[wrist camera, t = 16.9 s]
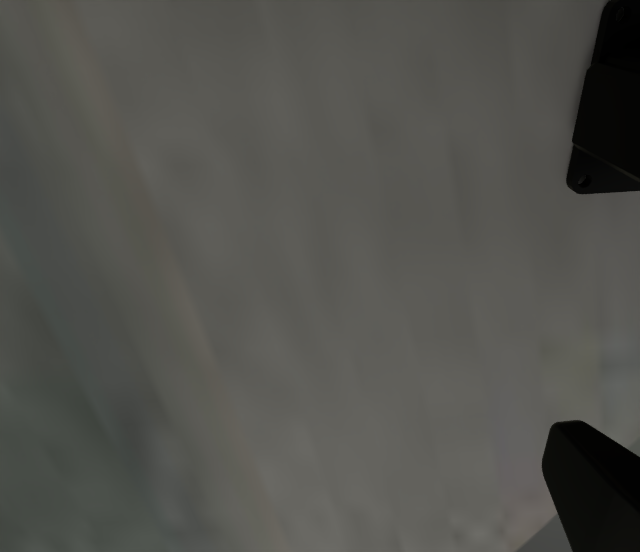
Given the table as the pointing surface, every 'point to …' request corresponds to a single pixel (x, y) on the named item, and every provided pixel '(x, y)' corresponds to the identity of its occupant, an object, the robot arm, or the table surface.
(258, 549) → the table surface
